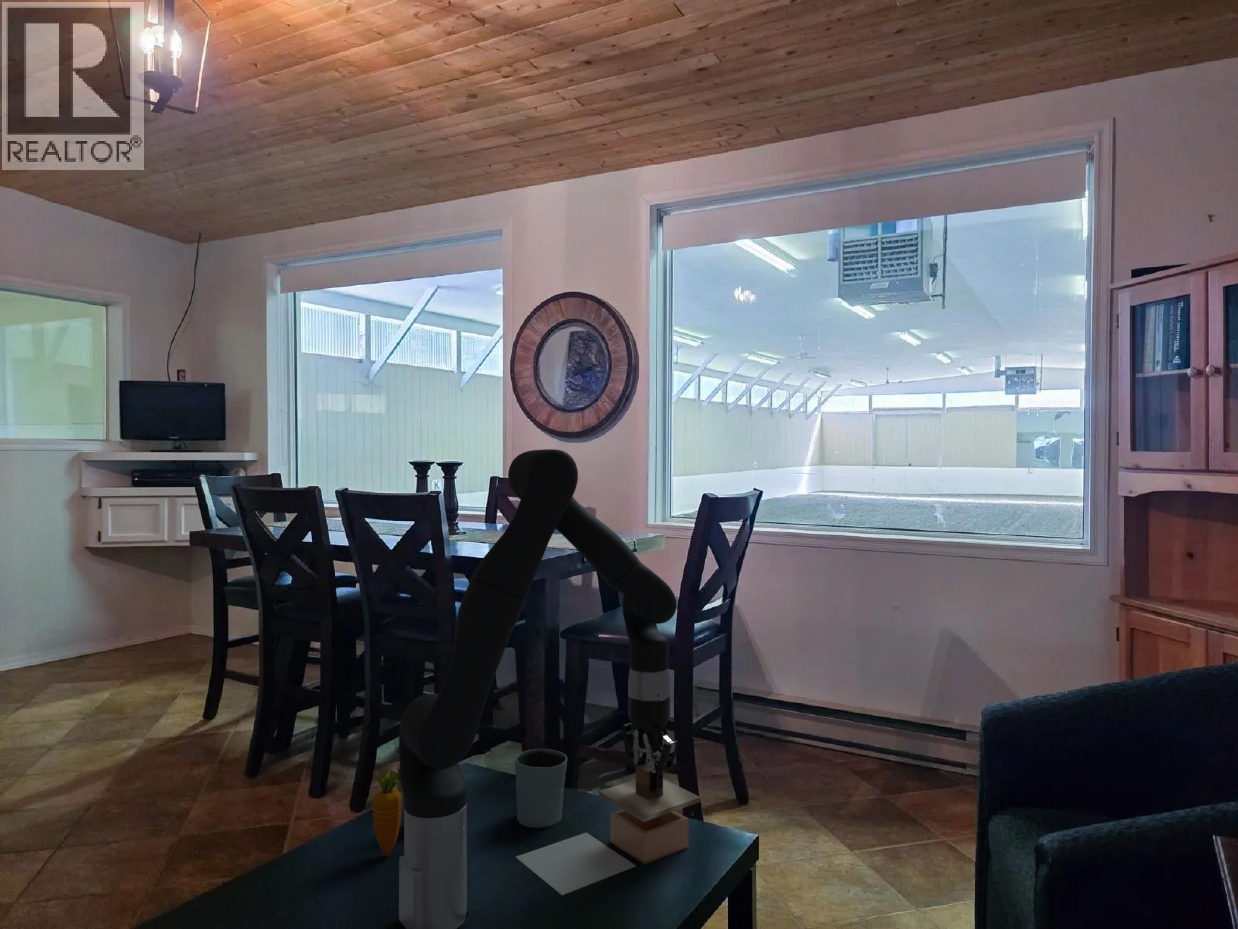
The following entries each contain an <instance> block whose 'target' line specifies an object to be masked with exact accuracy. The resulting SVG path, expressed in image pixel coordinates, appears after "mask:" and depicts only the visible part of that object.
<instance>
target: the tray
mask: <svg viewBox="0 0 1238 929" xmlns="http://www.w3.org/2000/svg"><path fill="white" fill-rule="evenodd" d="M515 858H516V859H517V860H518V861H519V862H521V863H522V864H523V865H524V866H526V867H527V868H528V869H529V870H530V871H532V872H533V873H534V874H535V875H537V876H538V878H540V879H541V880H543V881H544V882H545V883H546V884H548V885H549V886H550V887H551V888H553V889H554V890H555V891H556V892H557V893H558V894H560V896H564V895H566V894H570V893H571V892H574V891H577V890H579V889H581V888H584V887H587V886H589V885H592V884H595V883H597V882H601V881H603V880H605V879H607V878H610V877H612V876H615V875H617V874H620V873H623V872H625V871H627V870H630V869H633V868H636V867H637V865H636V864H634V863H633V862H631V861H630V860H628V859H627V858H625V857H624V856H622V855H620V853H617V852H616V851H614V850H613V849H611V848H610V847H609V846H607V845H606V844H604V843H603V842H601V841H599V840H598V839H597V838H595V837H593V836H592V835H591V834H590V833H588V832H583V833H581V834H578V835H574V836H572V837H569V838H566V839H563V840H561V841H558V842H555V843H553V844H549V845H547V846H544V847H543V846H542V847H541V848H538V849H535V850H534V849H533V850H531V851H529V852H525V853H523V854H519V855H516V856H515Z"/></svg>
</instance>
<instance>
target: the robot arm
mask: <svg viewBox="0 0 1238 929" xmlns="http://www.w3.org/2000/svg"><path fill="white" fill-rule="evenodd" d="M507 478H508V484H509V487H510V490H511V491H512V493H513V494H514V495H515V496H516V497H517V498H518V499H519V503H518V505H517V508H516V510H515V513H514V515H513V517H512V519H511V521H510V523H509V525H508V526H507V528H506V530H505V531H504V532H503V533H502V535H501V536H500V537H499V539H497V540H496V542H495V543H494V544H493V546H492V547H491V548H490V549H489V550H488V552H486V554H485V556H483V558H482V560H481V561H480V562H479V564H477V567H476V568H475V570H474V572H473V574H472V576H471V579H470V581H469V583H468V585H467V587H466V589H465V593H464V595H463V597H462V599H461V602H460V605H459V606H458V607H459V608H458V611H457V616H456V620H455V621H456V622H455V631H454V643H453V652H452V657H451V662H450V665H449V670H448V671H447V674H446V677H445V680H444V682H443V683H442V686H441V688H440V691H439V693H426V694H422V695H420V696H418V697H416V698H415V699H413V700H412V701H411V702H410V703H409V704H408V705H407V707H406V709H405V710H404V712H403V714H402V716H401V720H400V724H399V732H398V735H399V736H398V746H399V747H398V748H399V749H398V753H399V757H398V758H399V780H400V786H401V790H402V791H401V792H402V793H403V800H404V806H403V807H404V819H403V820H404V823H403V824H404V831H403V832H404V834H403V835H404V839H403V840H404V841H403V842H404V843H403V844H404V846H403V847H404V848H403V850H404V851H403V852H404V853H403V855H401V856H400V857H399V859H398V864H399V865H398V874H399V876H398V921H399V922H400V923H401V924H402V926H403V927H404V928H405V929H458V928H459V927H461V926H462V925H463V923H464V922H465V921H466V919H467V914H468V913H467V905H468V899H467V896H468V894H467V893H468V890H467V884H468V883H467V881H468V879H467V876H468V874H467V872H468V870H467V864H468V863H467V862H468V861H467V860H468V859H467V858H468V851H467V849H468V842H467V841H468V840H467V839H468V838H467V837H468V832H467V831H468V825H467V824H468V820H467V819H468V787H467V782H466V780H465V778H464V776H463V773H462V770H461V768H460V762H461V761H463V759H464V758H465V757H466V755H468V752H470V750H471V747H472V745H473V743H474V742H475V741H474V740H475V738H476V736H477V733H478V730H479V726H480V724H481V723H480V722H481V720H482V716H483V713H484V709H485V705H486V702H487V699H488V695H489V692H490V689H491V687H492V684H493V681H494V677H495V675H496V673H497V671H498V668H499V665H500V663H501V662H502V661H501V660H502V659H503V655H504V653H505V651H506V647H507V645H508V643H509V640H510V638H511V636H512V633H513V630H514V628H515V626H516V624H517V622H518V620H519V617H520V615H521V613H522V610H523V608H524V606H525V603H526V600H527V598H528V594H529V592H530V590H531V586H532V583H533V582H534V578H535V577H536V575H537V572H538V569H539V568H540V565H541V562H542V560H543V558H544V555H545V552H546V549H547V547H548V545H549V543H550V541H551V539H552V536H553V534H554V532H555V530H557V531H558V532H559V533H560V534H561V535H562V536H563V537H564V538H565V539H566V540H567V541H568V542H569V543H570V544H571V545H572V546H573V547H574V548H575V549H576V550H577V551H578V552H579V553H580V554H581V556H582V557H583V558H584V559H585V560H586V561H587V563H589V565H590V566H591V567H592V568H593V569H594V571H595V572H596V573H597V574H598V575H599V576H600V577H601V579H603V581H604V582H605V583H606V584H607V585H608V586H610V588H612V589H613V590H615V591H617V592H619V593H622V595H623V596H622V602H621V605H622V606H621V607H622V616H623V620H624V625H625V630H626V634H627V637H628V641H629V673H628V683H627V686H628V691H627V692H628V694H627V695H628V704H627V706H628V707H627V708H628V718H629V720H630V721H631V722H628V723H624V724H622V725H621V730H622V735H623V739H624V745H625V749H626V753H627V757H628V758H629V759H631V758H632V760H633V763H634V765H635V766H636V765H640V764H643V763H647V762H648V760H649V762H650V767H651V792H652V793H654V794H655V793H658V792H661V791H662V789H663V779H664V772H666V771H671V770H672V769H673V766H674V762H675V758H676V755H677V752H678V750H679V749H678V748H679V742H678V740H672V739H671V738H670V737H669V736H668V735H669V733H668V732H669V731H668V730H667V723H668V721H669V720H670V718H671V676H670V671H669V670H670V669H669V666H670V664H669V662H670V661H669V660H670V657H669V656H670V652H669V650H670V649H669V641H668V639H667V637H666V636H664V635H663V634H662V633H661V632H660V631H659V628H658V625H657V624H664V623H667V622H669V621H670V620H671V619H672V618H673V617H674V615H675V613H676V611H677V598H676V596H675V595H676V594H675V593H674V591H673V590H672V588H671V586H669V584H668V583H667V582H665V580H663V579H662V577H660V576H659V575H657V574H656V573H655V572H654V570H652V569H650V568H649V566H647V565H645V564H644V563H643V562H641V561H640V560H639V558H638V556H636V555H635V553H634V551H632V549H631V548H630V547H629V546H628V545H627V543H626V542H625V541H624V540H623V539H622V538H621V537H620V536H619V535H618V534H617V532H615V531H614V530H612V529H611V528H610V527H609V526H607V525H606V524H605V523H604V522H603V521H601V520H600V519H598V518H597V517H596V516H595V515H593V514H592V513H591V512H589V511H588V510H587V509H586V508H585V507H584V506H582V504H580V502H578V500H576V499H575V498H574V494H575V492H576V489H577V485H578V481H579V470H578V467H577V463H576V461H575V459H574V458H573V457H572V456H571V455H570V454H569V453H568V452H566V451H564V450H562V449H561V450H560V449H553V448H552V449H551V448H550V449H549V448H546V449H533V450H532V449H531V450H527V451H524V452H522V453H520V454H518V455H517V456H515V457H514V459H513V460H512V461H511V463H510V466H509V468H508V473H507ZM632 744H633V745H632ZM657 761H658V764H657ZM656 764H657V765H656Z"/></svg>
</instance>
